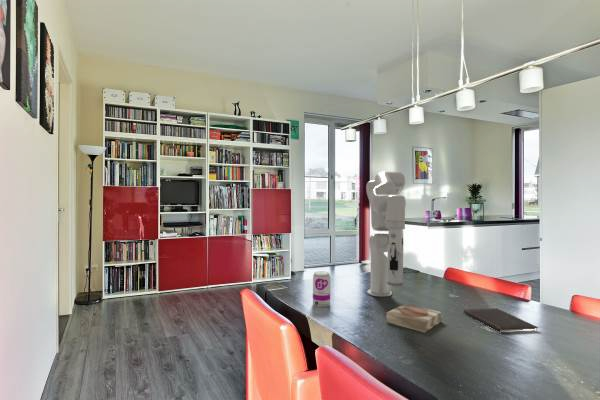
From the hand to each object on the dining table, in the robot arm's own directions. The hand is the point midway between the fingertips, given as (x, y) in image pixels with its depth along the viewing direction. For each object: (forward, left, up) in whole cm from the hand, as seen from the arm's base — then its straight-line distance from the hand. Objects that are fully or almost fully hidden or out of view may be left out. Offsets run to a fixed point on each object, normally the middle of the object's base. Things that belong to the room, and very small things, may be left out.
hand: (395, 268), depth 148 cm
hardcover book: (-27, +32, -22) cm, 48 cm away
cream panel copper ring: (-3, +7, -22) cm, 23 cm away
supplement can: (+5, -35, -22) cm, 42 cm away
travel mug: (0, 0, -7) cm, 7 cm away
